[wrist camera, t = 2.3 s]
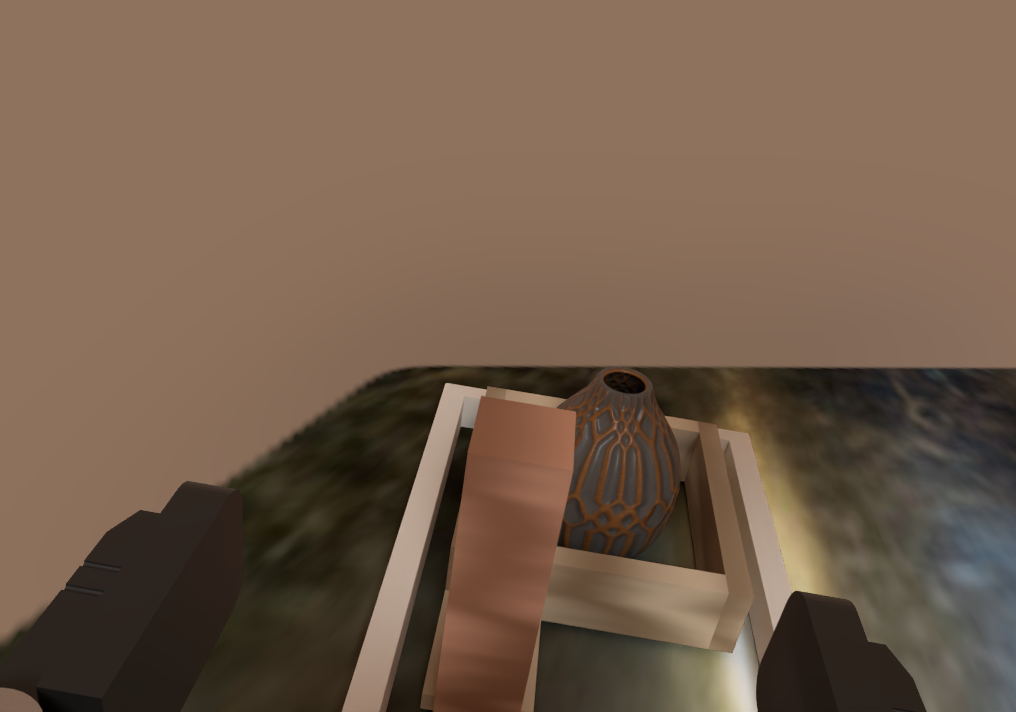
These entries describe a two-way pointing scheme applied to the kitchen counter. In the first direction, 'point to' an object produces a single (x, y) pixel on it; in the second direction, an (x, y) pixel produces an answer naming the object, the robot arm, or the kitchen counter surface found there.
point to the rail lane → (418, 523)
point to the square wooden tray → (568, 560)
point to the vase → (619, 467)
